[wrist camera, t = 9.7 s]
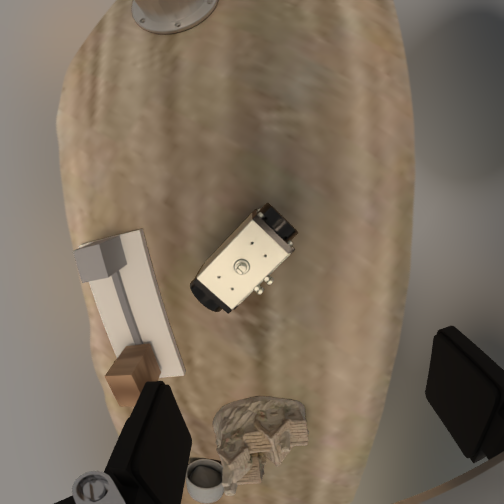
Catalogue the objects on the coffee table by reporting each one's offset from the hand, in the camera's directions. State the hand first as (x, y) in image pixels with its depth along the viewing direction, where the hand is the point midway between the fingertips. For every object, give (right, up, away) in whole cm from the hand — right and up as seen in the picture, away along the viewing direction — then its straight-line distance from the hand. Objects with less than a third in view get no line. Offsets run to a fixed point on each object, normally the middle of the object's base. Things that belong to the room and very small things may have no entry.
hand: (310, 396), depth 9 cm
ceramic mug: (-9, -38, +40) cm, 56 cm away
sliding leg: (-19, -11, +32) cm, 39 cm away
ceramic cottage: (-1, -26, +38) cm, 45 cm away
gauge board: (-19, -4, +32) cm, 38 cm away
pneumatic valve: (-3, +6, +30) cm, 31 cm away
